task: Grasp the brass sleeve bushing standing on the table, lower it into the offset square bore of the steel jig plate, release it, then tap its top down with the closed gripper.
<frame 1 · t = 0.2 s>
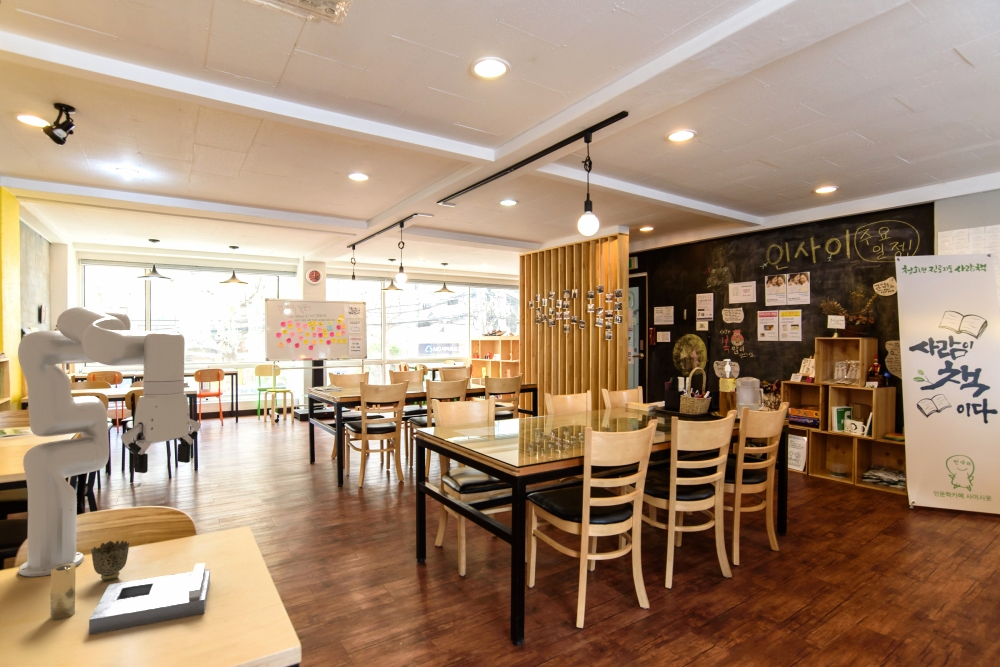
hand: (163, 467, 116), 31 cm above the table, tool pointing down, fingers open, 9 cm apart
cup: (110, 579, 129), on the table
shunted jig: (155, 605, 116), on the table
brass bushing: (62, 615, 112), on the table
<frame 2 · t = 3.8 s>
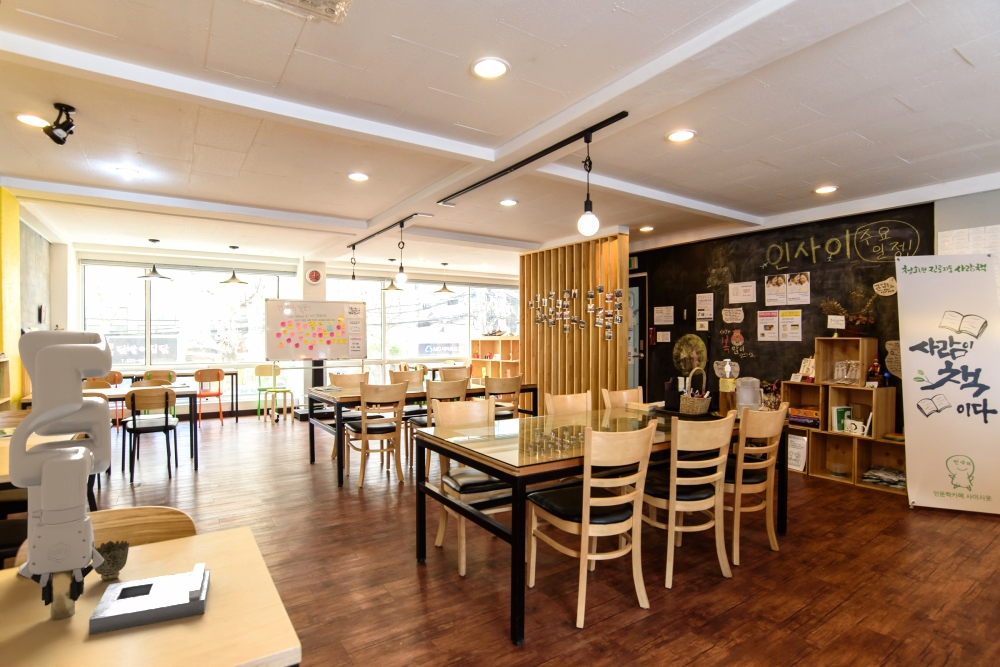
hand: (63, 599, 112), 3 cm above the table, tool pointing down, fingers closed on brass bushing, 4 cm apart
brass bushing: (62, 615, 112), on the table, touching gripper
everything else where it was.
when the fingers open (4 cm above the table, at t = 9.5 s): brass bushing stays where it is, resting in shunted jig.
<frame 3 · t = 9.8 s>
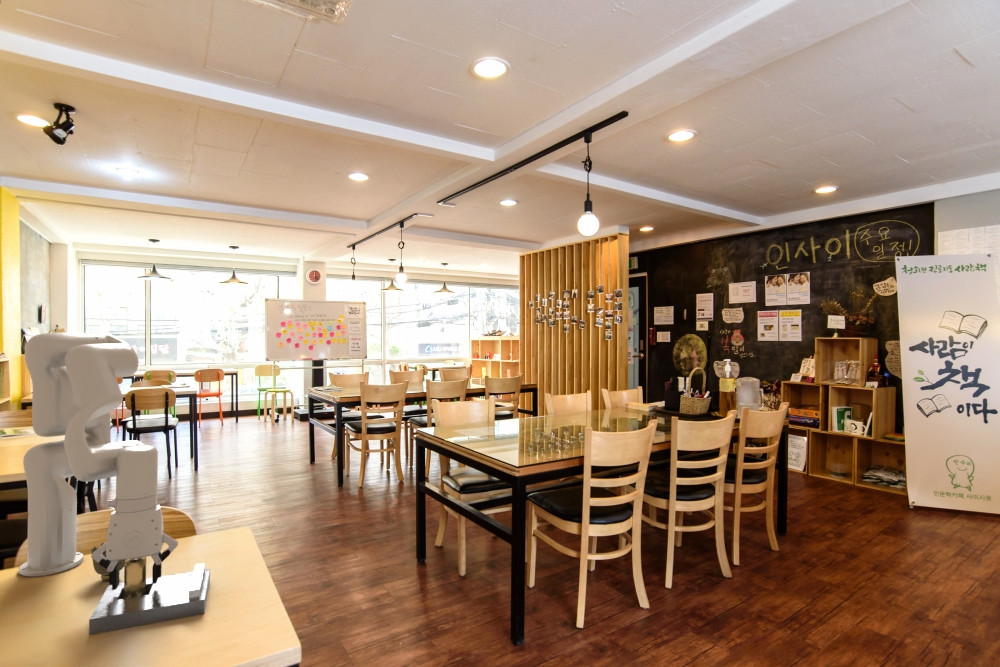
hand: (135, 583, 116), 5 cm above the table, tool pointing down, fingers open, 6 cm apart
brass bushing: (134, 605, 116), resting in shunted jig
everything else where it was.
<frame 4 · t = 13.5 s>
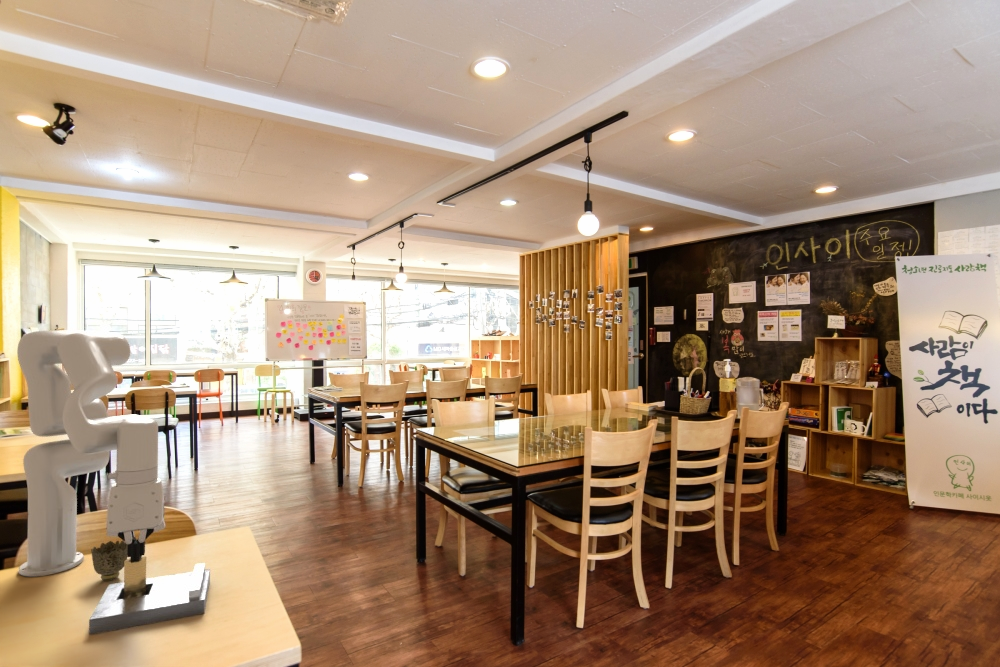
hand: (136, 559, 116), 10 cm above the table, tool pointing down, fingers closed
brass bushing: (134, 605, 116), resting in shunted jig, touching gripper
everything else where it was.
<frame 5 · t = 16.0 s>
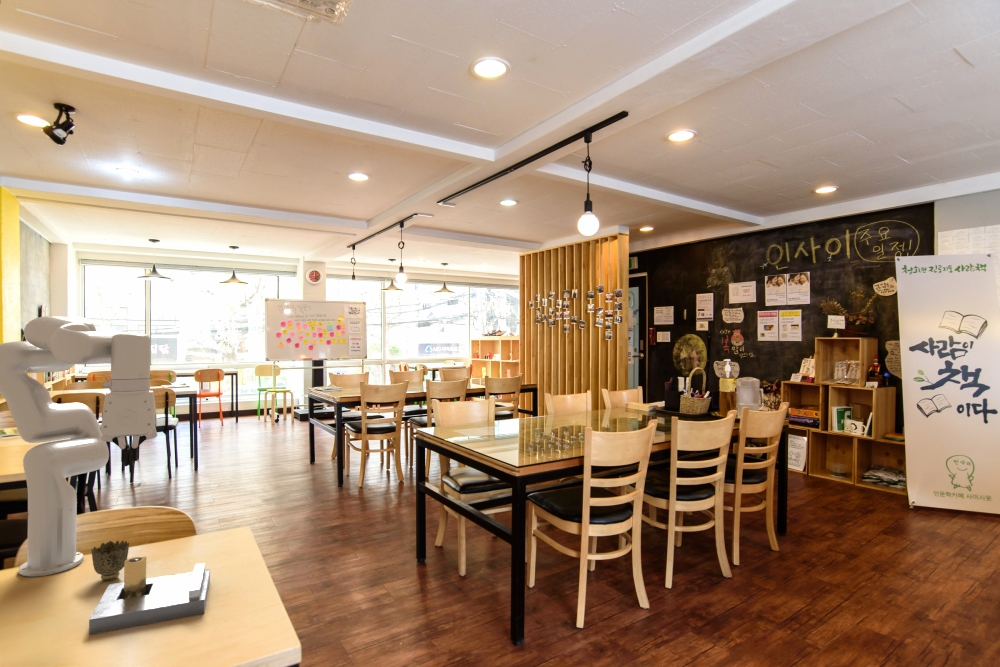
hand: (129, 464, 123), 29 cm above the table, tool pointing down, fingers closed
brass bushing: (134, 605, 116), resting in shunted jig
everything else where it was.
at the end: brass bushing 0.1 cm from the target spot on the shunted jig, point 0.0 cm above the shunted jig's base; brass bushing tilted 0°; the gripper is holding nothing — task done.
